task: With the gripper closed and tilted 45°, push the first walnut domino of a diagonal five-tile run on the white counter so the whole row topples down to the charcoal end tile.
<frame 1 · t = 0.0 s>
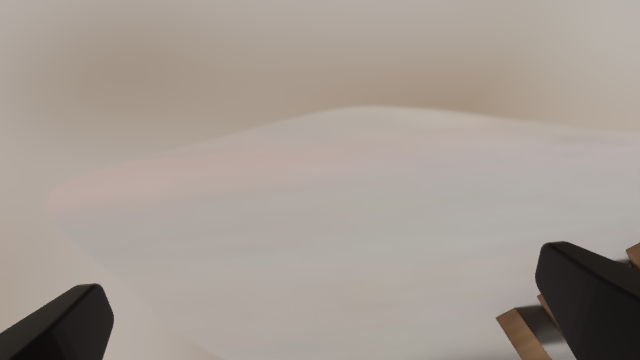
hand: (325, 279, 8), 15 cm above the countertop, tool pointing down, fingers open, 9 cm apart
domino 1: (515, 328, 29), on the countertop
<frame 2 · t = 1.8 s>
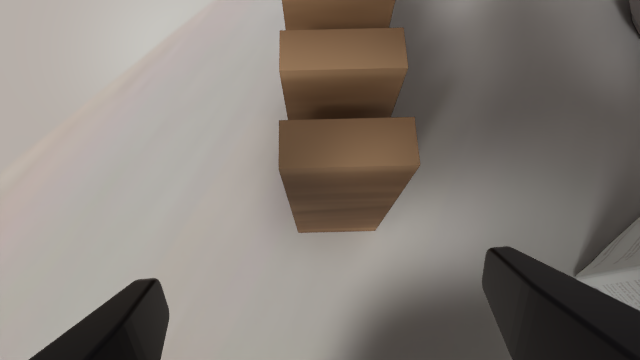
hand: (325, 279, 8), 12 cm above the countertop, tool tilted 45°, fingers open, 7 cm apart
domino 3: (331, 108, 23), on the countertop
domino 1: (336, 217, 21), on the countertop
domino 2: (333, 160, 22), on the countertop
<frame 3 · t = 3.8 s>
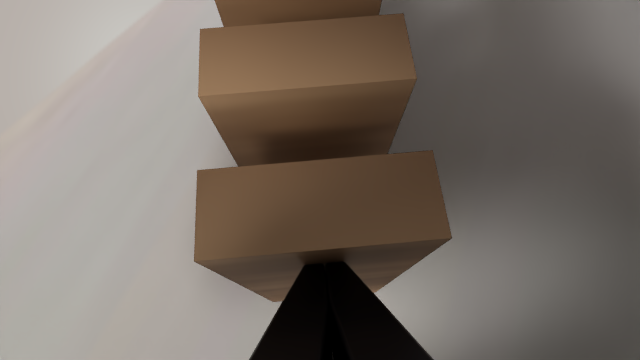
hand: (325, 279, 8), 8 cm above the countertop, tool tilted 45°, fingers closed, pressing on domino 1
domino 3: (309, 131, 18), on the countertop
domino 1: (322, 277, 16), on the countertop, touching gripper
domino 2: (315, 199, 17), on the countertop
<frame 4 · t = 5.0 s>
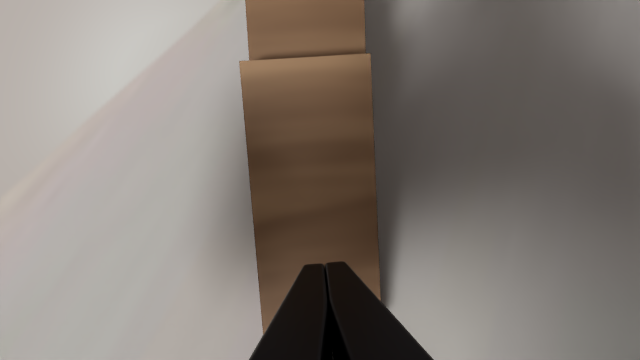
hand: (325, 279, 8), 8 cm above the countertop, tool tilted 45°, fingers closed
domino 1: (323, 335, 14), point 1 cm above the countertop, tilted 63°, touching domino 2
domino 2: (316, 242, 15), point 1 cm above the countertop, tilted 63°, touching domino 1, domino 3
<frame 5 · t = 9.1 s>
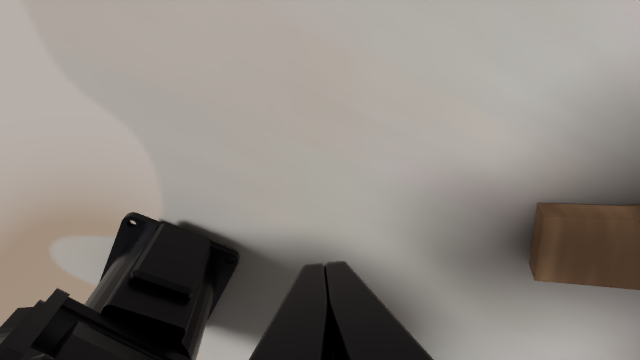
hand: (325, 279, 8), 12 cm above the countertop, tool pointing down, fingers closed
domino 1: (536, 241, 22), point 1 cm above the countertop, tilted 71°, touching domino 2
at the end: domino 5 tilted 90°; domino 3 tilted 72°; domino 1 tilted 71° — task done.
